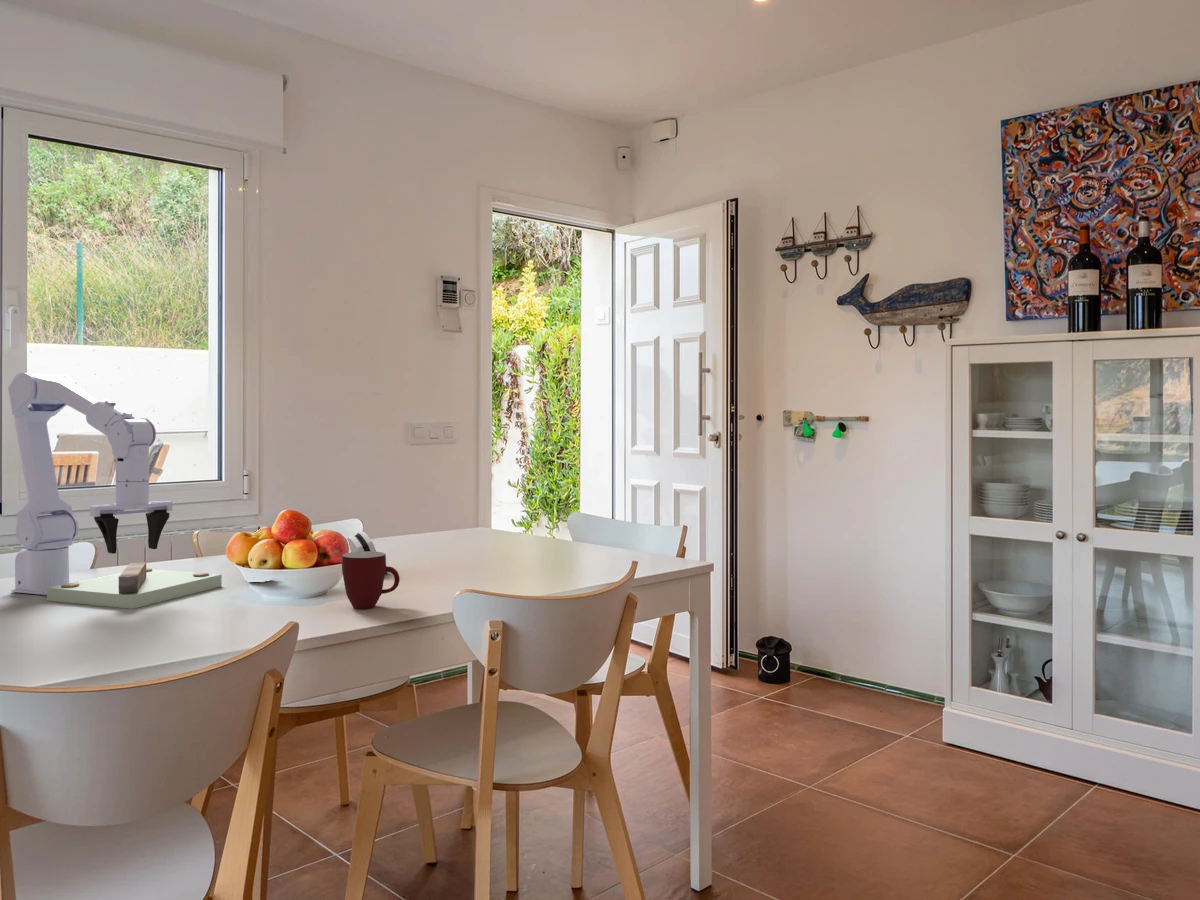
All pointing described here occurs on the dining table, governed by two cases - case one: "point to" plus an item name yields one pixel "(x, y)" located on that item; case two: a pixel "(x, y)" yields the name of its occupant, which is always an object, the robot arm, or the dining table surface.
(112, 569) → the dining table surface
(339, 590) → the dining table surface
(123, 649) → the dining table surface
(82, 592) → the stool seat
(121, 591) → the folding leg
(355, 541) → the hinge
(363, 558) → the mug
